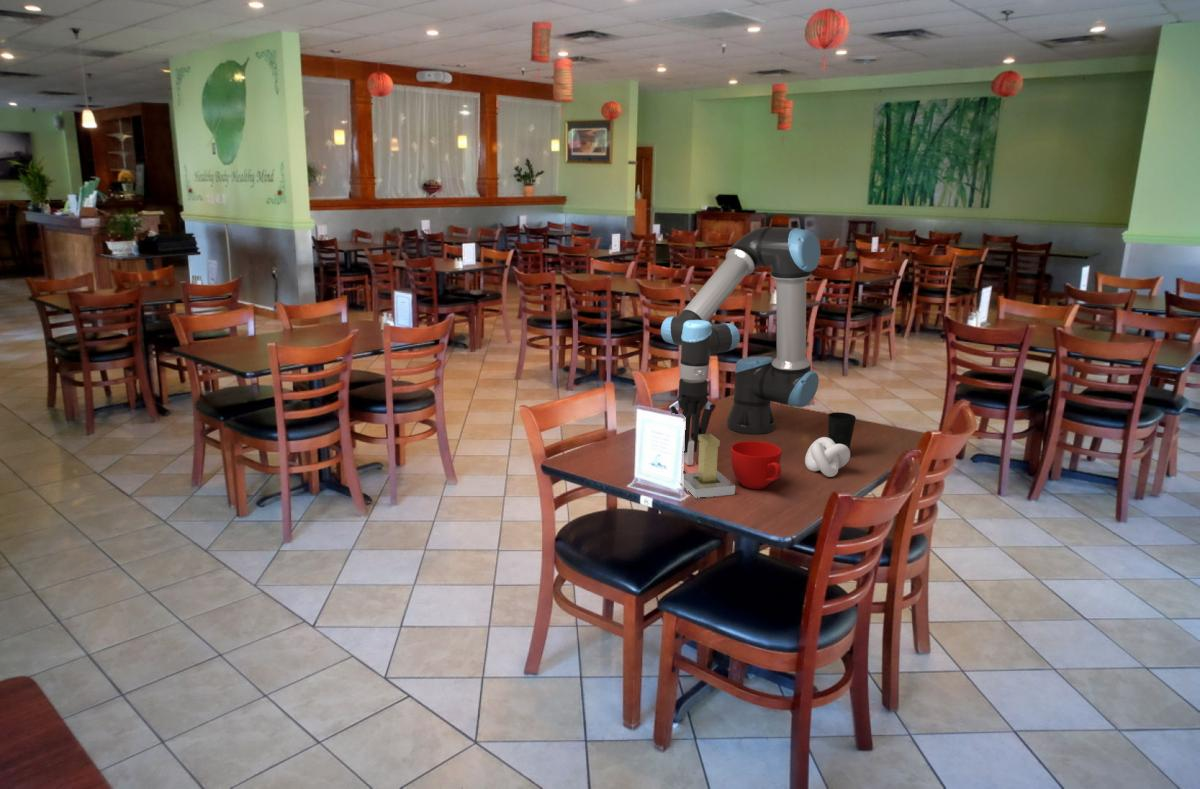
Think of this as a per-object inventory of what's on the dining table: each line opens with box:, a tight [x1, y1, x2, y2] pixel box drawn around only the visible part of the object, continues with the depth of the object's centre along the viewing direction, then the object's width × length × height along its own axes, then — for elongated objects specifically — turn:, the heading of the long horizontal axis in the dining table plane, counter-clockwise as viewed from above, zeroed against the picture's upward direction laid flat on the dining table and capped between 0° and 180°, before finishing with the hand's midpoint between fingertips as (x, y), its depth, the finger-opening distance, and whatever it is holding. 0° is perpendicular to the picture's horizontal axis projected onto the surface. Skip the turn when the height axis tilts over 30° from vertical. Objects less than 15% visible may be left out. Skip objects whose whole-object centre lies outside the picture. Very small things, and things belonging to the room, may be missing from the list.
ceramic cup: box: [730, 440, 782, 490], centre depth 211 cm, size 13×17×10 cm
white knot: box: [804, 436, 851, 478], centre depth 222 cm, size 11×12×9 cm
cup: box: [827, 411, 857, 456], centre depth 236 cm, size 8×8×12 cm
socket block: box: [683, 470, 736, 499], centre depth 210 cm, size 11×11×2 cm
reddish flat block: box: [683, 457, 698, 474], centre depth 220 cm, size 10×5×2 cm, turn 17°
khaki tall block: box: [697, 433, 721, 484], centre depth 209 cm, size 6×4×14 cm, turn 16°
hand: (688, 463), depth 220 cm, fingers closed
